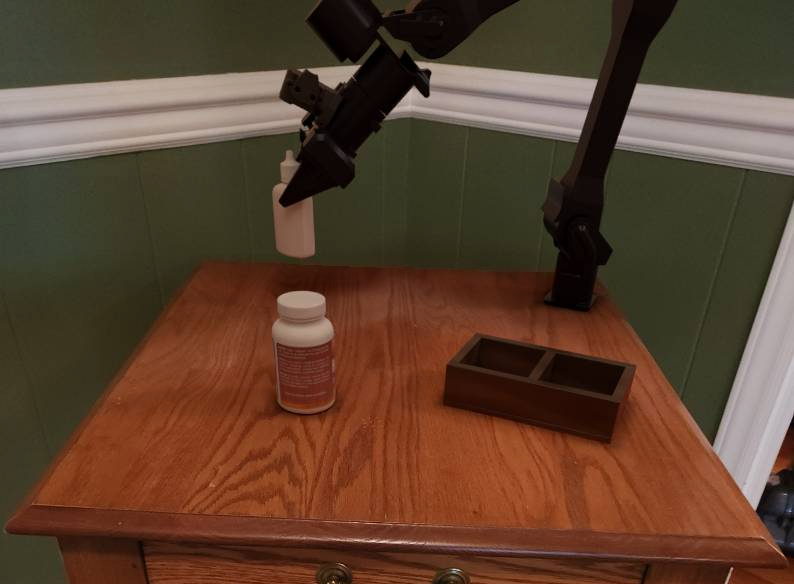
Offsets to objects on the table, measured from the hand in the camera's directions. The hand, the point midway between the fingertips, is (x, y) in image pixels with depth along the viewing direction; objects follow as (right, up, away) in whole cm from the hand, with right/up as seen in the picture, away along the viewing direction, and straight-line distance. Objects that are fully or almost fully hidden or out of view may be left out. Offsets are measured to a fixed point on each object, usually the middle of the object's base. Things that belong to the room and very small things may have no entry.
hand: (281, 199), depth 91 cm
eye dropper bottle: (+1, -5, +4) cm, 7 cm away
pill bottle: (+5, -28, -14) cm, 32 cm away
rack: (+29, -28, -13) cm, 43 cm away
